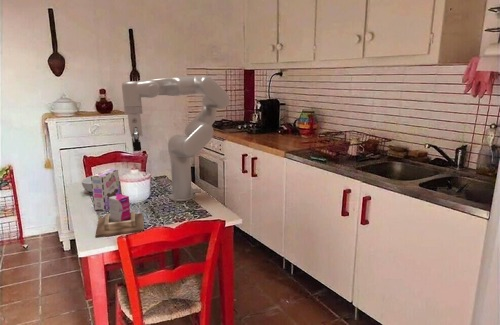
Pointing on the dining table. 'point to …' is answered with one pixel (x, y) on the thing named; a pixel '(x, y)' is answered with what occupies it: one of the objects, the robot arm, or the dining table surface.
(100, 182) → the candy box
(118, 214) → the supplement box
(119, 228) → the walnut stand
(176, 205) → the dining table surface
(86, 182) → the cereal bowl
